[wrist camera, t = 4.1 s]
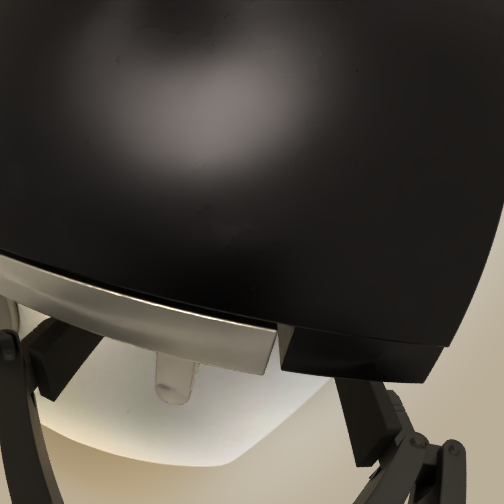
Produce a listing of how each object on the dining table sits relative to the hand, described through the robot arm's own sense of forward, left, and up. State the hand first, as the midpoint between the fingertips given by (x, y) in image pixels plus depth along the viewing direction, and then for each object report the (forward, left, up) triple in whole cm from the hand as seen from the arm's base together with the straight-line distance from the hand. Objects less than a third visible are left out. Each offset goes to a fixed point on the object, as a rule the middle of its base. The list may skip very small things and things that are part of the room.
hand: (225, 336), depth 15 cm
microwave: (+12, +3, -11) cm, 17 cm away
